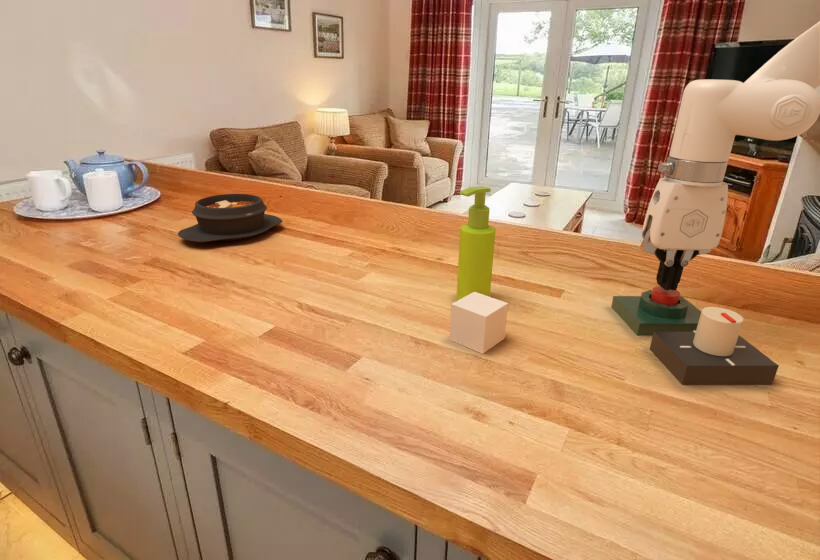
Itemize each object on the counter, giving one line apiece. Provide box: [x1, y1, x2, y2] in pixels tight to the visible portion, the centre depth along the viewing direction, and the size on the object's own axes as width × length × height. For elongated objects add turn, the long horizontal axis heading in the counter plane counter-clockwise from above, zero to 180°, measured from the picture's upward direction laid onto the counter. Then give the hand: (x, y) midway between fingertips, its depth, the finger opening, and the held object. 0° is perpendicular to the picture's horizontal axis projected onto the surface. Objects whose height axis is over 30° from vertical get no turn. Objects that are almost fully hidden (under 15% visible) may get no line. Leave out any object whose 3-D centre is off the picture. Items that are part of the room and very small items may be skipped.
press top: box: [651, 285, 681, 305], centre depth 79 cm, size 4×4×2 cm
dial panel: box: [649, 331, 779, 386], centre depth 68 cm, size 12×9×3 cm
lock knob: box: [693, 306, 744, 356], centre depth 66 cm, size 5×5×5 cm
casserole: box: [177, 193, 283, 243], centre depth 118 cm, size 25×19×8 cm
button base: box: [610, 289, 702, 337], centre depth 80 cm, size 12×10×4 cm
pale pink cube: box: [449, 292, 509, 355], centre depth 73 cm, size 6×6×6 cm
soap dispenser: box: [456, 186, 496, 301], centre depth 83 cm, size 6×7×20 cm
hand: (666, 286), depth 78 cm, fingers closed
